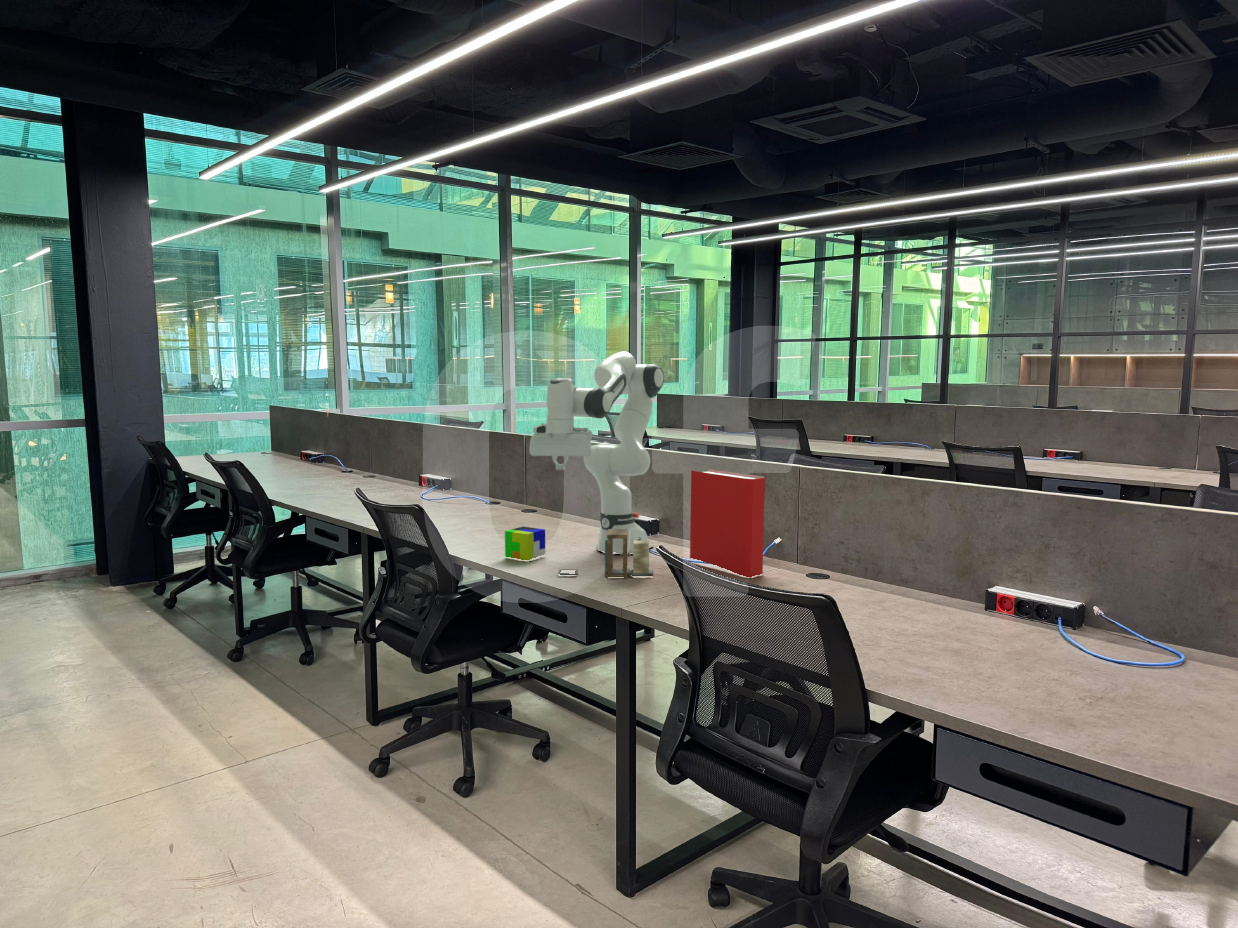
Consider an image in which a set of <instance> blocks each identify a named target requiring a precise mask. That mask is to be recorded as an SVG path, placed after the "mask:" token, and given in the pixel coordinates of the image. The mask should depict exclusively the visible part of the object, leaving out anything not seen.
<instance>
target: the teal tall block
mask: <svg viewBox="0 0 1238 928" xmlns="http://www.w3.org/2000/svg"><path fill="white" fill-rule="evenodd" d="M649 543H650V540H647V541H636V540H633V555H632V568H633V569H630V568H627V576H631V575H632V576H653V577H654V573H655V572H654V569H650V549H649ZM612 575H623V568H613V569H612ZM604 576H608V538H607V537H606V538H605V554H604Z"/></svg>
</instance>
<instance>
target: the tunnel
mask: <svg viewBox="0 0 1238 928" xmlns="http://www.w3.org/2000/svg"><path fill="white" fill-rule="evenodd" d="M607 538H608V575H607V578H608V577H624V578H627V577H628V575H627V569H628V554H627V538H628V529H608V533H607ZM613 539H623V554H622V569H623V575H612V569H614V568H613V563H614V562H613V559H614V558H613V557H614V554H613ZM627 579H628V578H627Z"/></svg>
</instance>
